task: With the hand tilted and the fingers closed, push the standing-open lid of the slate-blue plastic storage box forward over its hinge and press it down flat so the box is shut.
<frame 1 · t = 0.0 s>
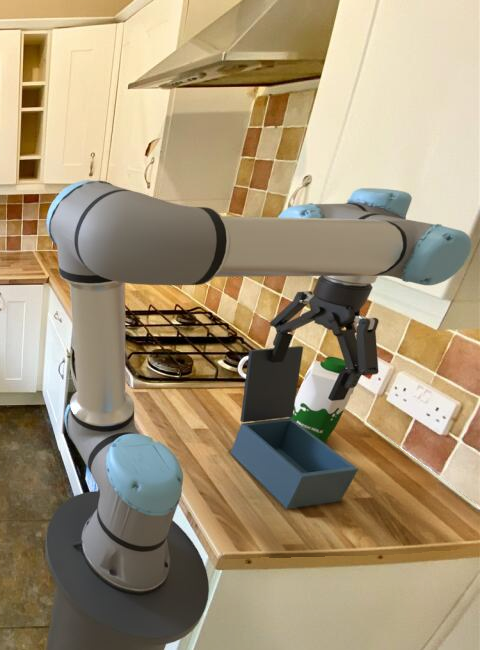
hand: (303, 378, 83), 23 cm above the worktop, tool pointing down, fingers open, 13 cm apart
storage box: (281, 475, 90), on the worktop
cup: (256, 388, 119), on the worktop
milk carton: (304, 434, 102), on the worktop
lid: (271, 384, 91), point 17 cm above the worktop, hinge at 103.1°, touching gripper
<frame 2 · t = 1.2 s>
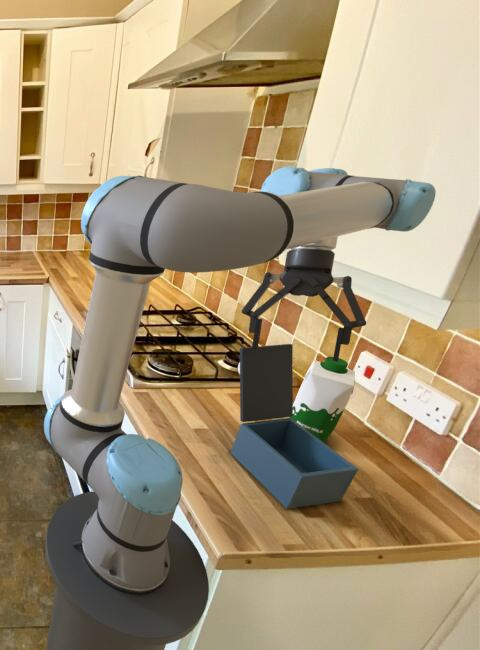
hand: (292, 354, 85), 26 cm above the worktop, tool tilted 20°, fingers open, 12 cm apart
lid: (266, 382, 92), point 17 cm above the worktop, hinge at 112.0°, touching gripper
everything else where it was.
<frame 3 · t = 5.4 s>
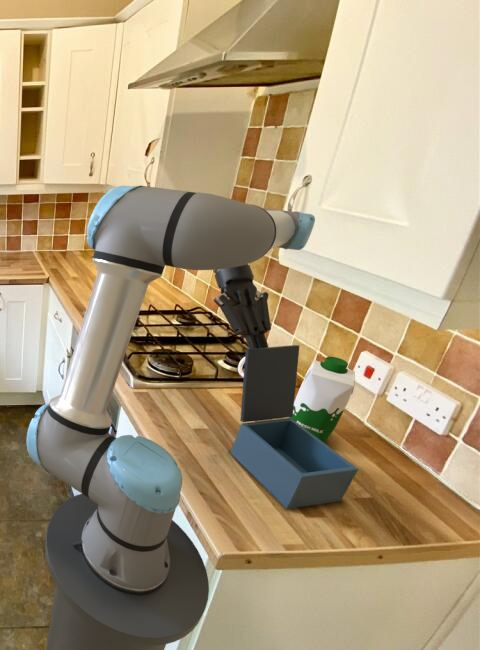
hand: (264, 363, 92), 21 cm above the worktop, tool tilted 45°, fingers closed
lid: (269, 383, 91), point 17 cm above the worktop, hinge at 106.2°, touching gripper
everything else where it was.
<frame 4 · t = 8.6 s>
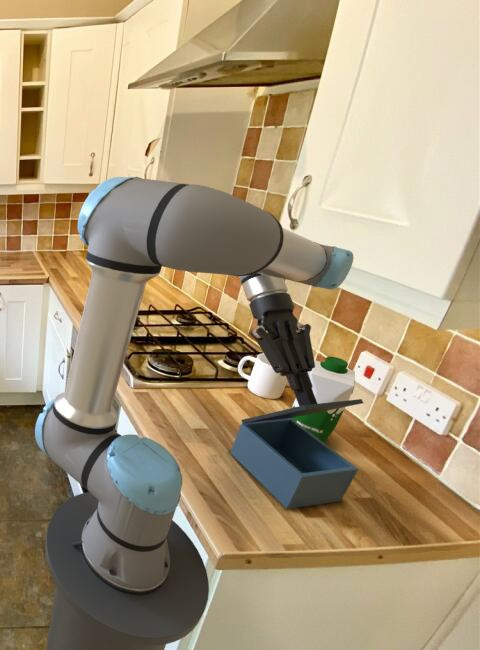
hand: (308, 405, 83), 18 cm above the worktop, tool tilted 45°, fingers closed
lid: (297, 412, 85), point 15 cm above the worktop, hinge at 48.4°, touching gripper
everything else where it was.
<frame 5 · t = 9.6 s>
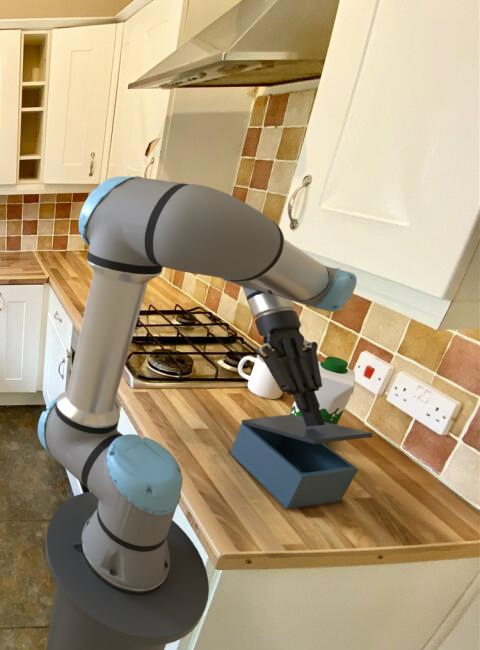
hand: (315, 425, 81), 15 cm above the worktop, tool tilted 45°, fingers closed
lid: (301, 427, 84), point 13 cm above the worktop, hinge at 26.6°, touching gripper
everything else where it was.
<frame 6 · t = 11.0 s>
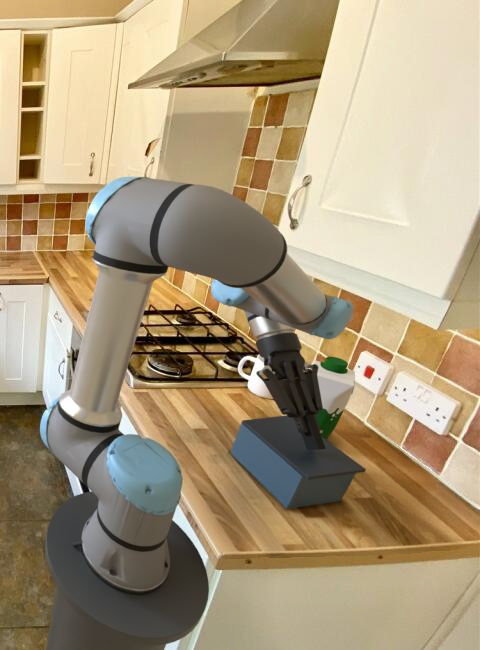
hand: (316, 449, 82), 11 cm above the worktop, tool tilted 45°, fingers closed
lid: (298, 444, 85), point 9 cm above the worktop, hinge at 0.5°, touching gripper
everything else where it was.
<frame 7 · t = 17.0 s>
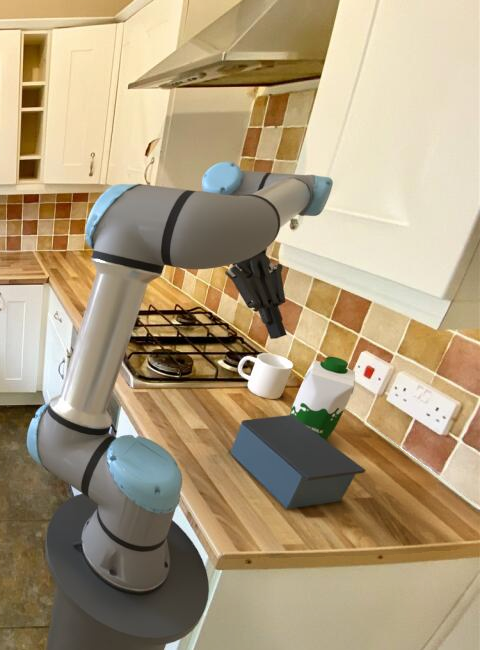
hand: (278, 336, 88), 28 cm above the worktop, tool tilted 45°, fingers closed
lid: (298, 444, 85), point 9 cm above the worktop, hinge at -0.2°, touching storage box
everything else where it was.
at the end: lid at +0° (first picture: +103°); milk carton moved 0.2 cm from its start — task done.
